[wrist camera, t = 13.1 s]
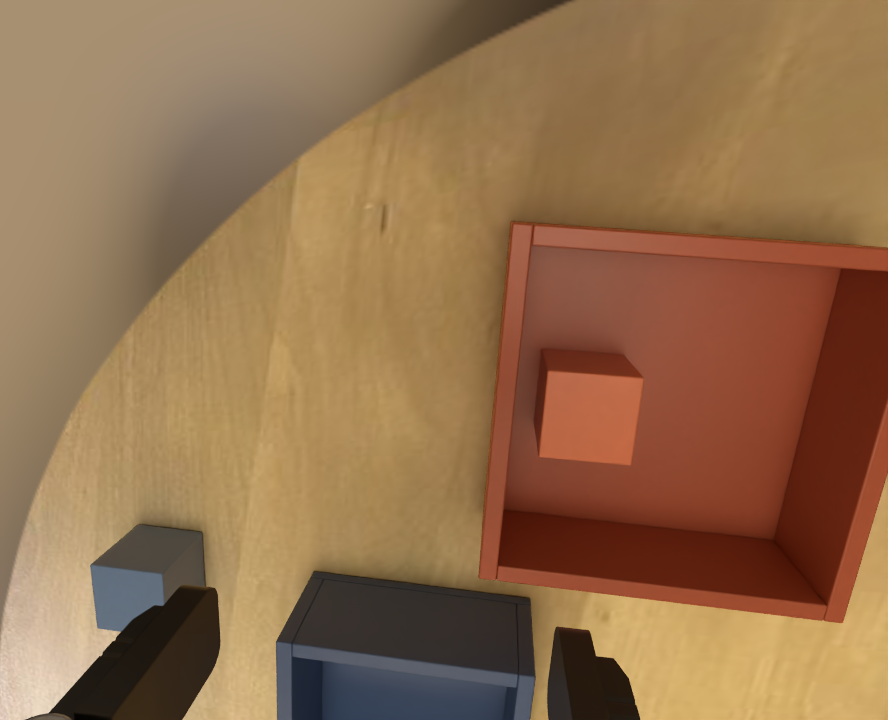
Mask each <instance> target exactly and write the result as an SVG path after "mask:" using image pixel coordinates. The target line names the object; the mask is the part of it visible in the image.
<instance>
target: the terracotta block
mask: <svg viewBox="0 0 888 720" xmlns="http://www.w3.org/2000/svg"><path fill="white" fill-rule="evenodd" d="M643 385H644V377H643V376H642V375H641V374H640V373H639V371H638V370H637V369H636V368H635V367H634V366H633V364H632V363H631V362H630V361H629V360H628V359H627V357H626V356H625V355H623V354H609V353H596V352H582V351H569V350H555V349H542V350H541V356H540V366H539V376H538V386H537V396H536V406H535V416H534V429H535V436H536V443H537V450H538V456H539V457H543V458H554V459H565V460H576V461H587V462H598V463H609V464H620V465H631V464H632V457H633V451H634V444H635V437H636V431H637V424H638V418H639V411H640V404H641V398H642V391H643Z"/></svg>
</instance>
